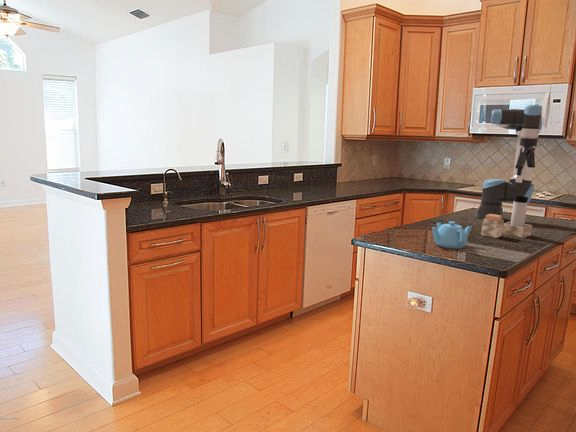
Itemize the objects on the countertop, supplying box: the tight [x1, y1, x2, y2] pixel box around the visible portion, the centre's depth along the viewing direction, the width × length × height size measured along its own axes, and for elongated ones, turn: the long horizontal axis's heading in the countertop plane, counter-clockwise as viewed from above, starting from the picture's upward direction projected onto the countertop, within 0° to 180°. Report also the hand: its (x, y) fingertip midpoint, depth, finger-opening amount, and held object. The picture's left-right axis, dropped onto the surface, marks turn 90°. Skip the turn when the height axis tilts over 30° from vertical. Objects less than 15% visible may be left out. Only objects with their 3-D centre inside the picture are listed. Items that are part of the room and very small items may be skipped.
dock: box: [480, 219, 533, 239], centre depth 231 cm, size 16×22×8 cm
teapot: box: [431, 220, 473, 250], centre depth 206 cm, size 15×15×11 cm
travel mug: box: [510, 196, 528, 227], centre depth 232 cm, size 6×7×20 cm
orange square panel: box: [485, 214, 502, 222], centre depth 228 cm, size 6×6×3 cm
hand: (523, 181), depth 229 cm, fingers open, 13 cm apart
